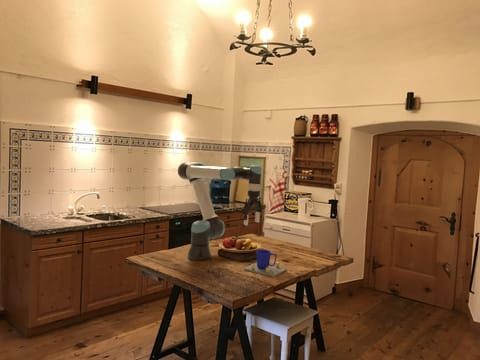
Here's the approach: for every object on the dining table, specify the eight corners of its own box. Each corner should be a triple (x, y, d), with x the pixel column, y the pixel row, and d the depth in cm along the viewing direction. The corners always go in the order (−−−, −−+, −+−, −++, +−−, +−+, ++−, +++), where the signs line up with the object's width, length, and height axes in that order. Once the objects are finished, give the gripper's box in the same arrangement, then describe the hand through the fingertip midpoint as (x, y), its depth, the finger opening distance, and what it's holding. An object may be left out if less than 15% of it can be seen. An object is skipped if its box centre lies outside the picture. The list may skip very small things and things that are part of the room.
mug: (274, 271, 236) (275, 254, 236) (254, 268, 239) (255, 252, 238) (276, 267, 244) (277, 251, 243) (257, 264, 247) (258, 249, 246)
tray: (244, 270, 240) (244, 263, 239) (257, 263, 253) (257, 257, 253) (274, 277, 229) (274, 270, 229) (286, 270, 243) (286, 263, 242)
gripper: (248, 192, 239) (245, 227, 241) (269, 189, 260) (266, 221, 262) (237, 190, 243) (235, 225, 245) (259, 188, 264) (256, 220, 266)
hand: (251, 223), depth 254 cm, fingers open, 13 cm apart
